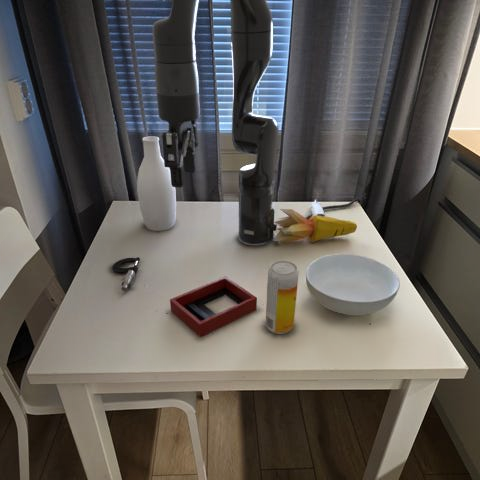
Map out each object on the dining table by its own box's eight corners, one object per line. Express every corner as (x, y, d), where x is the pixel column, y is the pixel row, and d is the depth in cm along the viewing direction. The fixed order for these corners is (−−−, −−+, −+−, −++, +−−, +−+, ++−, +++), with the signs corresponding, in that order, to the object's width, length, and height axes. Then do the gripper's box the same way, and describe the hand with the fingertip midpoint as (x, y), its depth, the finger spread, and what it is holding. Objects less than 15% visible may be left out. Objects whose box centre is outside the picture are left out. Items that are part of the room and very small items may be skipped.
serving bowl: (409, 322, 99) (417, 297, 95) (318, 332, 96) (321, 306, 92) (372, 273, 115) (377, 249, 111) (293, 280, 112) (295, 256, 108)
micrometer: (116, 260, 120) (115, 252, 118) (143, 261, 120) (141, 253, 118) (99, 292, 108) (97, 283, 106) (129, 293, 108) (127, 284, 106)
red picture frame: (225, 288, 109) (225, 276, 107) (256, 310, 102) (257, 297, 100) (171, 312, 102) (169, 299, 99) (200, 337, 94) (199, 324, 92)
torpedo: (329, 232, 134) (332, 211, 130) (313, 231, 134) (316, 211, 130) (321, 207, 148) (323, 188, 144) (306, 207, 148) (308, 187, 144)
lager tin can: (298, 326, 98) (305, 266, 88) (281, 339, 94) (286, 278, 85) (277, 314, 101) (281, 256, 92) (259, 326, 97) (262, 267, 88)
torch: (350, 249, 133) (269, 247, 127) (345, 227, 136) (266, 224, 130) (363, 233, 125) (277, 229, 120) (357, 210, 129) (273, 205, 123)
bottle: (134, 226, 136) (120, 139, 121) (159, 214, 143) (149, 130, 128) (161, 236, 131) (151, 146, 116) (186, 222, 138) (179, 136, 123)
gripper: (186, 99, 74) (192, 193, 84) (207, 83, 85) (210, 168, 95) (143, 97, 75) (154, 190, 85) (169, 81, 86) (176, 166, 96)
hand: (184, 178), depth 90 cm, fingers open, 8 cm apart
